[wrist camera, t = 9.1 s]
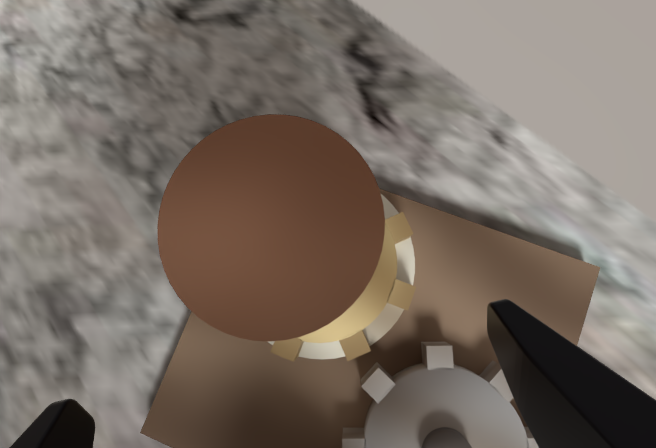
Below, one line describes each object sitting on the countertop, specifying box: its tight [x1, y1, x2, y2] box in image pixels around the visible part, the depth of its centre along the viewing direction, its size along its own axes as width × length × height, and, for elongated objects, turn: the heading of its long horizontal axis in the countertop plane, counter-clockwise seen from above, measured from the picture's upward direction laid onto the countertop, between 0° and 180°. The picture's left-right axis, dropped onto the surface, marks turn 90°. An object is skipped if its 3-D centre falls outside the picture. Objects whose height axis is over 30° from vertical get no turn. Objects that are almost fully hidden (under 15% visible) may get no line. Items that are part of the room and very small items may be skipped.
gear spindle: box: [158, 114, 416, 362], centre depth 14 cm, size 9×9×12 cm
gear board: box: [140, 189, 600, 448], centre depth 19 cm, size 15×17×4 cm
